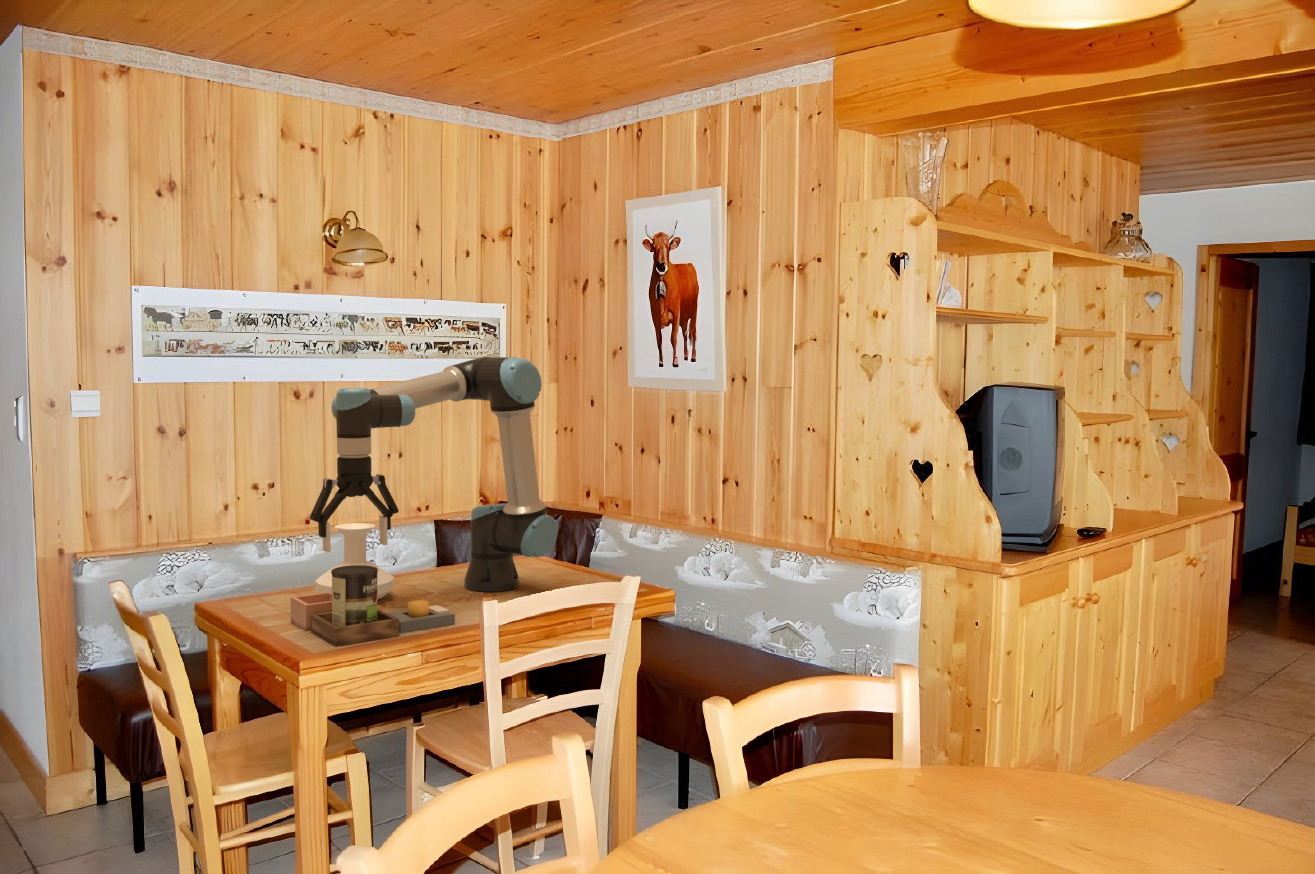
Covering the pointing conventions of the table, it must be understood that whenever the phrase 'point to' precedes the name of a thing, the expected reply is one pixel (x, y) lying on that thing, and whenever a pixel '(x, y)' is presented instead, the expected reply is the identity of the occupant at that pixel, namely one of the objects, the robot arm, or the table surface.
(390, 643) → the table surface
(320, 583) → the candle holder
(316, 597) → the terracotta square planter
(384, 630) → the dark wooden tray
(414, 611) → the button
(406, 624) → the base
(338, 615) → the coffee can
